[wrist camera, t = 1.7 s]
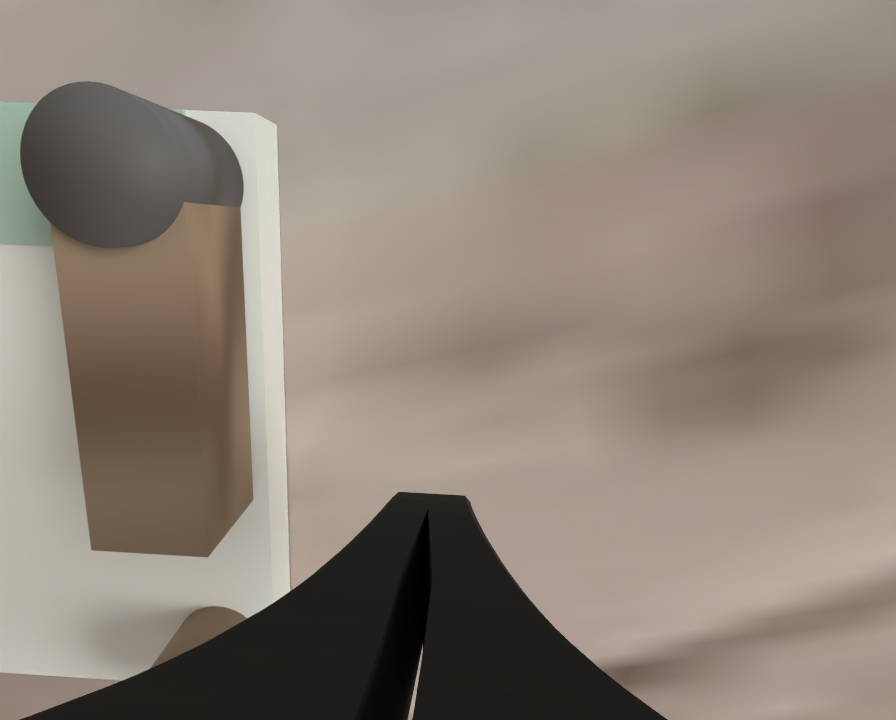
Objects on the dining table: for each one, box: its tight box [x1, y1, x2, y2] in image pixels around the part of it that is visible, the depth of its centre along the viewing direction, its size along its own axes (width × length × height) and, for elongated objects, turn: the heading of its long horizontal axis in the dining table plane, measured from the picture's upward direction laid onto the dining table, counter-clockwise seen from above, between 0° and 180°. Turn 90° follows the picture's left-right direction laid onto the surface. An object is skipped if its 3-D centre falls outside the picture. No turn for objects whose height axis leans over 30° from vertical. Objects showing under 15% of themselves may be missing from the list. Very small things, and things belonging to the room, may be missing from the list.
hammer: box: [20, 82, 254, 557], centre depth 12 cm, size 9×3×3 cm, turn 178°
